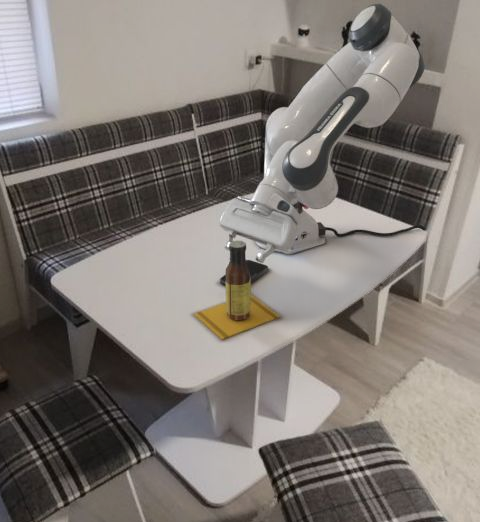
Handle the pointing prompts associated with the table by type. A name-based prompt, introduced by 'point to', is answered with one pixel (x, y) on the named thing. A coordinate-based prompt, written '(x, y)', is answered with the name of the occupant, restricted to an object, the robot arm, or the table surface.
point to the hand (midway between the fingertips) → (243, 255)
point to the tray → (228, 327)
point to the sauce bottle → (238, 283)
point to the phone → (251, 271)
